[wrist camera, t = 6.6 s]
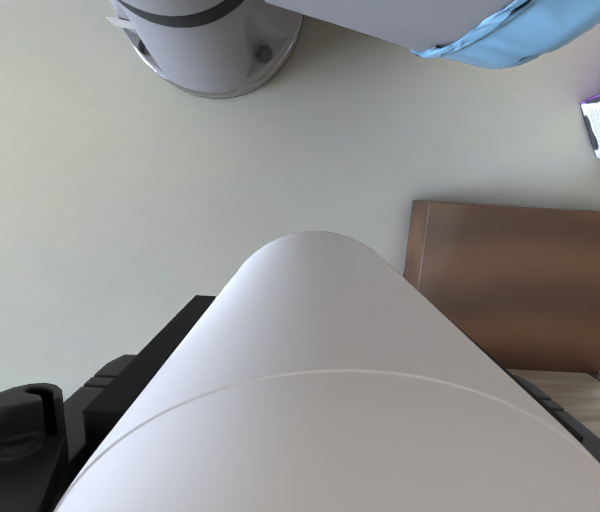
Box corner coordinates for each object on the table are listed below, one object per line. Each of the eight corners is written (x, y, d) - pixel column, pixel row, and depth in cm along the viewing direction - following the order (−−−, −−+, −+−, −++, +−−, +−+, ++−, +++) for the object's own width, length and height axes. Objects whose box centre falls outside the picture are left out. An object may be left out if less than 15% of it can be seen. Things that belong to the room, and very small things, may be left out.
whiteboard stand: (413, 200, 30) (592, 215, 12) (599, 211, 30) (1068, 243, 12) (393, 353, 34) (509, 556, 15) (562, 362, 34) (884, 574, 15)
